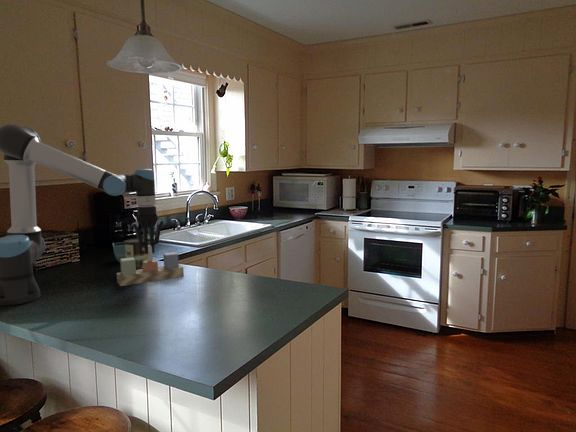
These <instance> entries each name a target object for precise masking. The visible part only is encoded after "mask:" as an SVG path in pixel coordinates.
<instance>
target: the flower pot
mask: <svg viewBox="0 0 576 432" xmlns="http://www.w3.org/2000/svg"><path fill="white" fill-rule="evenodd" d="M112 248H113V255H114V257H115V259H116V261H117V262H118V263H120V259H123V258H126V254H125V243H124V241H123V242H112Z"/></svg>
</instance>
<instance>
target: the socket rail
mask: <svg viewBox="0 0 576 432" xmlns="http://www.w3.org/2000/svg"><path fill="white" fill-rule="evenodd" d="M184 275H185V274H184V267H183V266H182V265H180V264H179V268H172V269H166V268H164V265H163V266H158V271H152V272H144V271H143V269H141V270H136V274H132V275H125V276H123V275H122V274H121V271H120V272H116V282H117V284H118V285H119V287H124V286H129V285H130V286H131V285H136V284H137V285H138V284H143V283H144V284H145V283H149V282H155V281H161V280H162V281H163V280H167V279H168V280H169V279H174V278H182V277H184Z"/></svg>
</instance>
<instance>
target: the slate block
mask: <svg viewBox="0 0 576 432" xmlns="http://www.w3.org/2000/svg"><path fill="white" fill-rule="evenodd" d="M162 254H163V266H164V268H166V269H172V268H179V265H180V263H179V254H178V252H176V251H172V252H164V253H162Z"/></svg>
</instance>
